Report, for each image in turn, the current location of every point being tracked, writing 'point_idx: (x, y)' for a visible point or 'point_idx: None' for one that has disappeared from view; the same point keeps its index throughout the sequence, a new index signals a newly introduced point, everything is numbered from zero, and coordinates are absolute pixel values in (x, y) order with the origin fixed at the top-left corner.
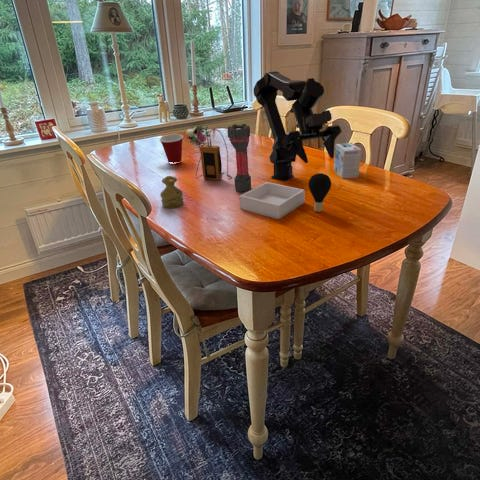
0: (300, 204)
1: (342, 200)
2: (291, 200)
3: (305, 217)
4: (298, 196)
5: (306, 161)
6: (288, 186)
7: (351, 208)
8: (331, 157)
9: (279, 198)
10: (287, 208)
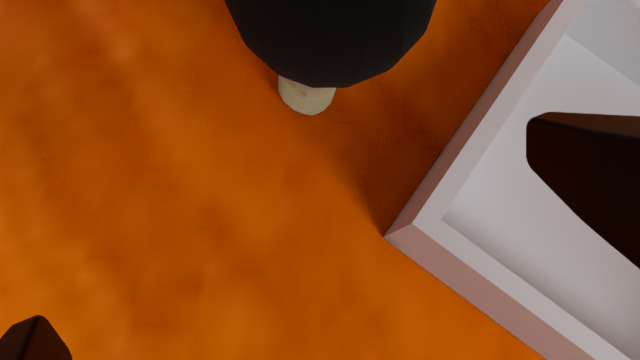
0: (413, 193)
1: (94, 258)
2: (507, 76)
3: None
4: (456, 150)
5: (553, 119)
6: (549, 325)
7: (75, 111)
8: (60, 356)
9: (563, 291)
10: (511, 60)
